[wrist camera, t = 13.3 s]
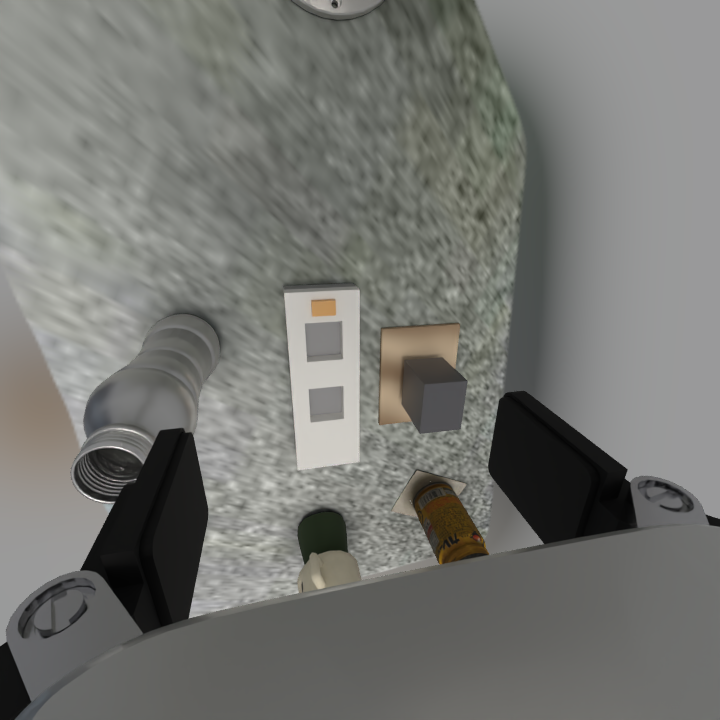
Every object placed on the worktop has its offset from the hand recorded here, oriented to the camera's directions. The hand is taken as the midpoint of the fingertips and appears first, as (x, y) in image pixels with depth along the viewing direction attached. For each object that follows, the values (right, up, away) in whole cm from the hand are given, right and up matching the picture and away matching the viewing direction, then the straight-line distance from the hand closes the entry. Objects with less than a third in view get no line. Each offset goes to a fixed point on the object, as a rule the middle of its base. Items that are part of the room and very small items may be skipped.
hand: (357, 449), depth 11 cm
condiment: (+10, -16, +41) cm, 45 cm away
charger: (+7, +1, +32) cm, 33 cm away
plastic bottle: (-17, +5, +26) cm, 31 cm away
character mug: (-5, -19, +39) cm, 44 cm away
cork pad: (+7, +1, +33) cm, 33 cm away
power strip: (-4, +1, +30) cm, 30 cm away
